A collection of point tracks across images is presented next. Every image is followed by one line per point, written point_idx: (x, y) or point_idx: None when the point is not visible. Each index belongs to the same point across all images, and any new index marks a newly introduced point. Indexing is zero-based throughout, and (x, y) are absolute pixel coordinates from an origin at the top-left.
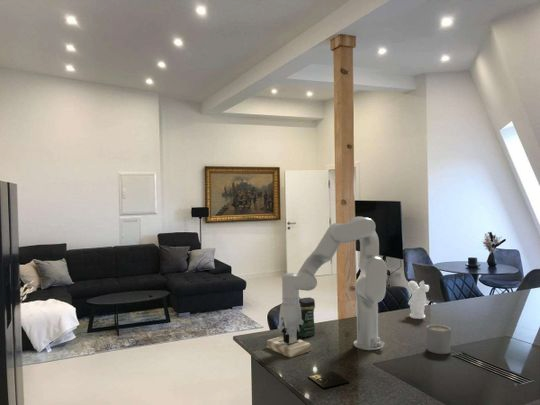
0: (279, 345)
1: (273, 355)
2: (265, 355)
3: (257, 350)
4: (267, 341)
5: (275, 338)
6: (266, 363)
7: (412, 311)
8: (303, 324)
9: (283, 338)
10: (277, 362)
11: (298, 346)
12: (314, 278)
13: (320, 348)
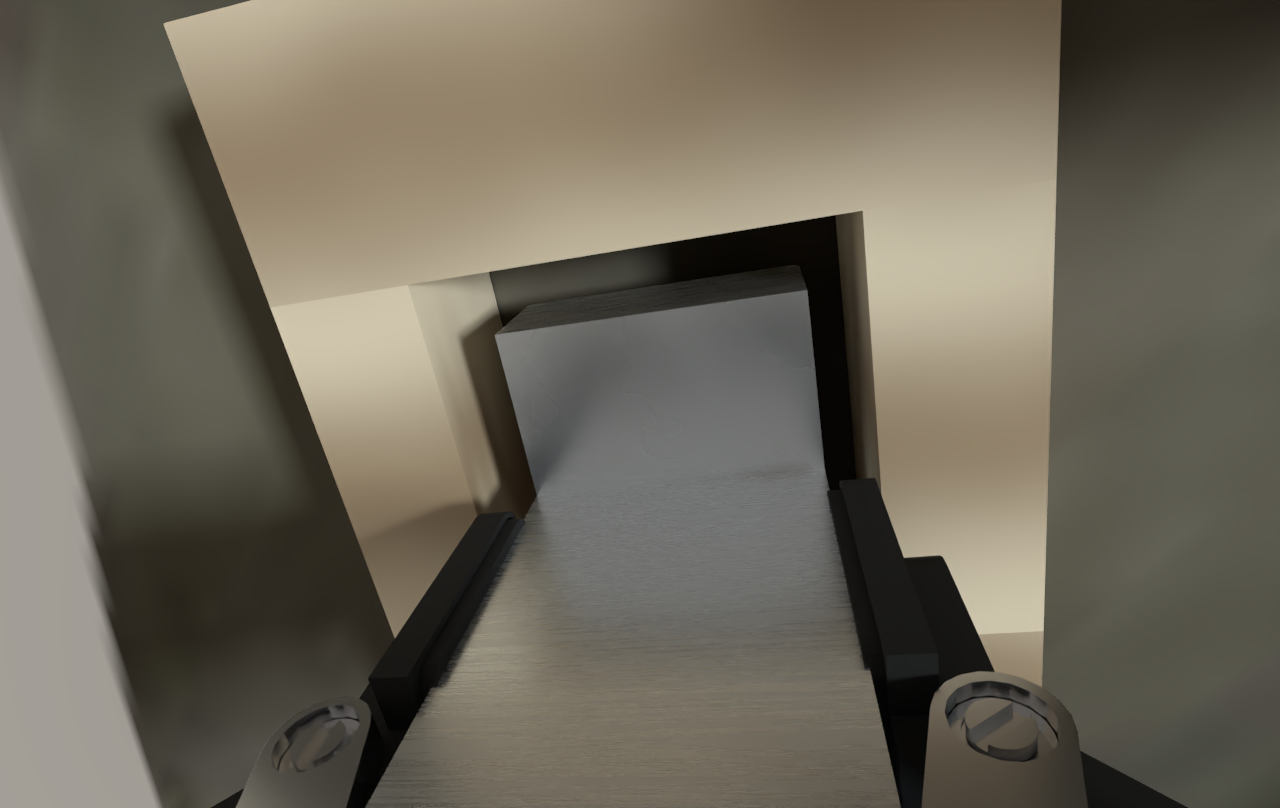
0: (359, 532)
1: (293, 488)
2: (163, 417)
3: (60, 95)
4: (196, 38)
5: (449, 15)
6: (117, 664)
7: None
8: None
9: (685, 154)
10: (267, 714)
11: None
12: None
13: (1266, 674)
